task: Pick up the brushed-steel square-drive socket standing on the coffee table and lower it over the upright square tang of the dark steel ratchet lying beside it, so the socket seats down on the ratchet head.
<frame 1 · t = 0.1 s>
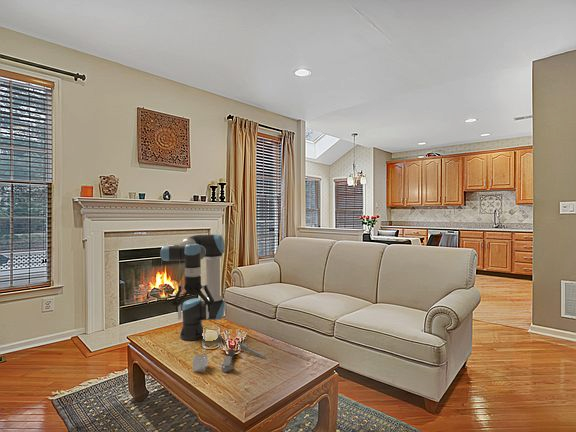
hand: (193, 318, 168), 28 cm above the table, fingers open, 13 cm apart
ratchet: (227, 370, 173), on the table
socket: (200, 368, 174), on the table
caliper: (251, 355, 191), on the table
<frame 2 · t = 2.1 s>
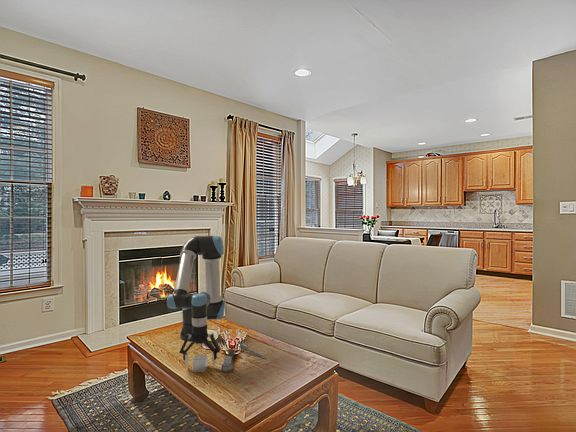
hand: (200, 366, 174), 1 cm above the table, fingers open, 13 cm apart
nothing on the table moved.
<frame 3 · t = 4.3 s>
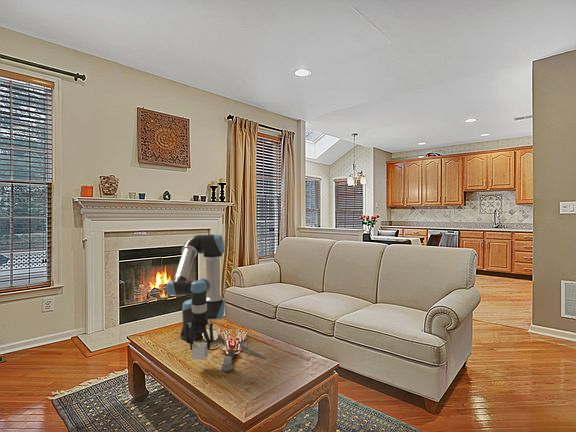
hand: (200, 355, 175), 6 cm above the table, fingers closed on socket, 6 cm apart
socket: (200, 356, 175), point 6 cm above the table, touching gripper
everything else where it was.
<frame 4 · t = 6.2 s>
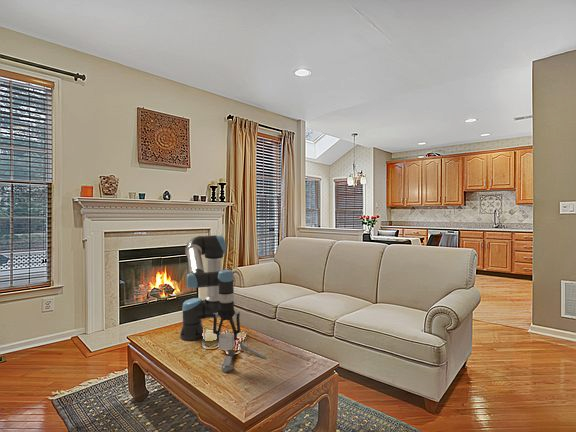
hand: (227, 346, 172), 12 cm above the table, fingers closed on socket, 6 cm apart
socket: (227, 347, 172), point 12 cm above the table, touching gripper
everything else where it was.
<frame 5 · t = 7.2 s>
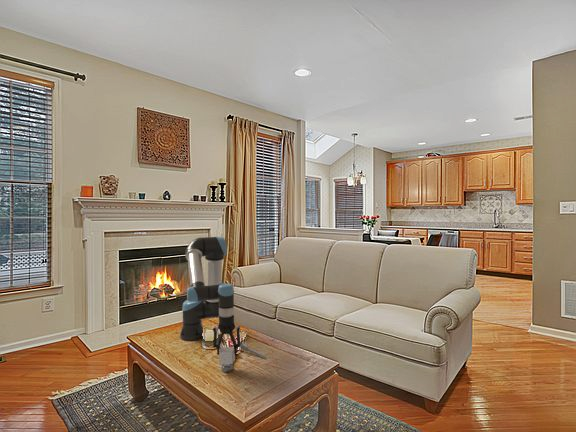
hand: (227, 360, 173), 5 cm above the table, fingers closed on socket, 6 cm apart
socket: (227, 361, 172), point 5 cm above the table, touching gripper
everything else where it was.
when the fingers open (3 cm above the table, at t = 8.3 s): socket stays where it is, resting on ratchet.
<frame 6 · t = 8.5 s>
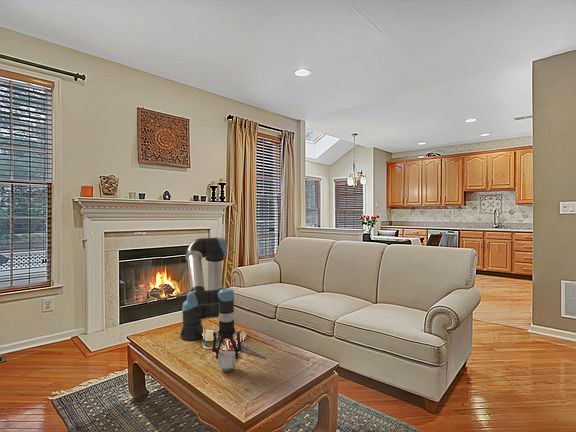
hand: (227, 364, 173), 3 cm above the table, fingers open, 7 cm apart
ratchet: (227, 370, 173), on the table, touching socket
socket: (227, 365, 173), point 2 cm above the table, touching ratchet
everything else where it was.
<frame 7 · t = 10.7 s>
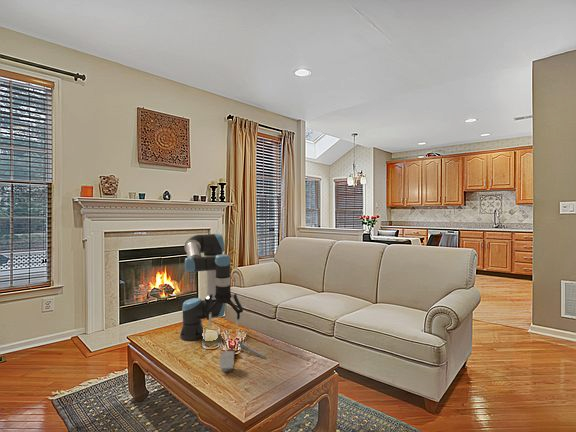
hand: (223, 325, 177), 21 cm above the table, fingers open, 13 cm apart
nothing on the table moved.
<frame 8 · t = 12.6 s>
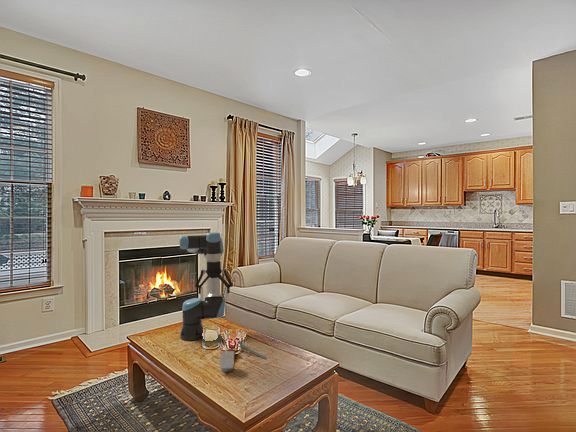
hand: (214, 299, 188), 32 cm above the table, fingers open, 13 cm apart
nothing on the table moved.
at the end: socket 0.2 cm off-centre on the ratchet, point 2.5 cm above the ratchet's base; socket tilted 0°; the gripper is holding nothing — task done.
